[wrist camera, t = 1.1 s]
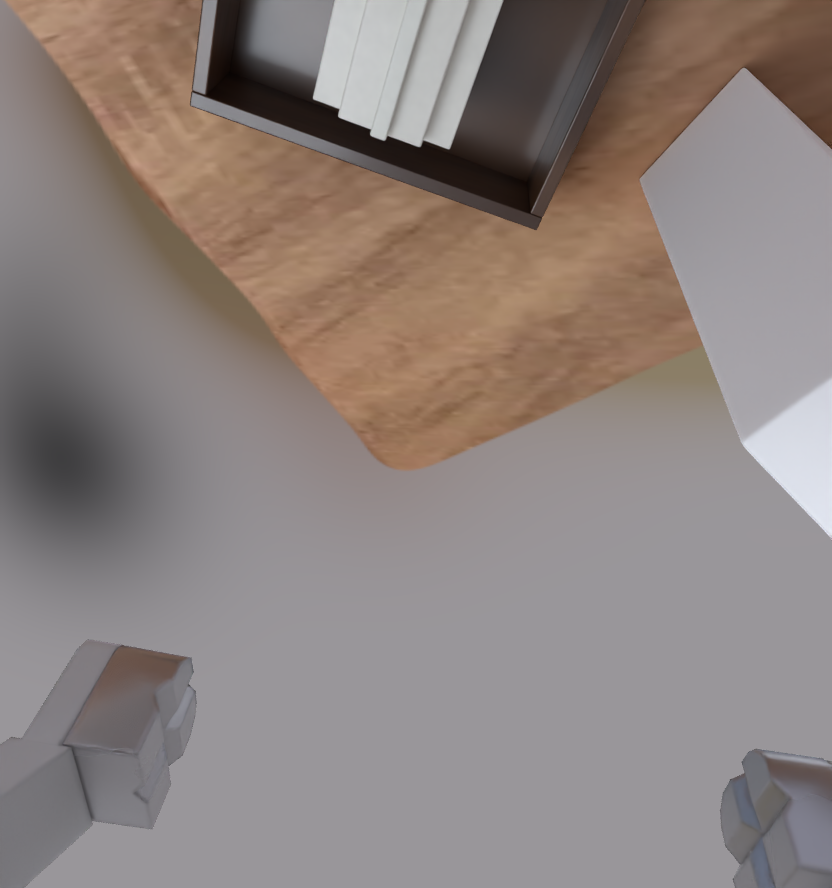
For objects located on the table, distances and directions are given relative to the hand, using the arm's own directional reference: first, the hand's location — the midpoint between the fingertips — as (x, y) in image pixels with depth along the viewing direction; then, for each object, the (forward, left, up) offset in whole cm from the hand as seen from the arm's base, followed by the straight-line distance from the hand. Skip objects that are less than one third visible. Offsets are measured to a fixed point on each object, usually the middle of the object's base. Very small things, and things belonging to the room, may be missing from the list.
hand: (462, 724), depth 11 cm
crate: (-3, -4, -29) cm, 29 cm away
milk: (-2, +12, -29) cm, 32 cm away
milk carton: (-3, -4, -29) cm, 29 cm away
